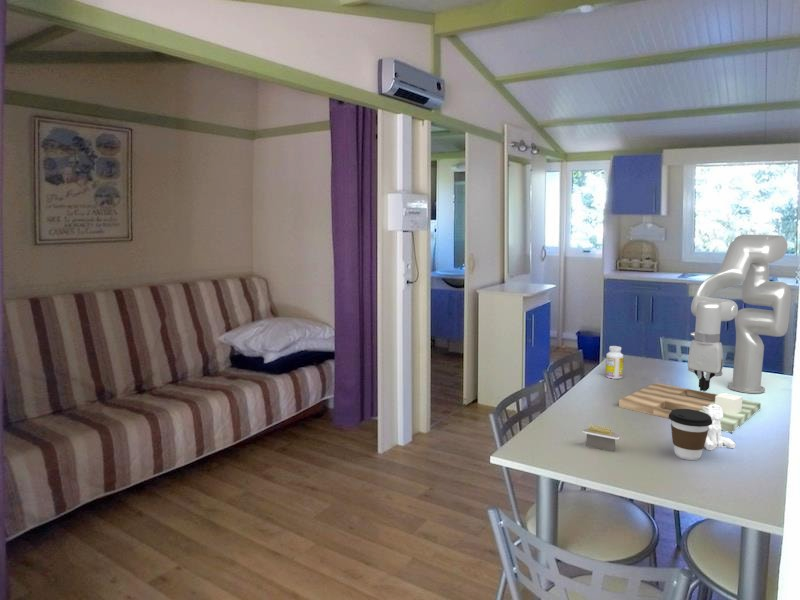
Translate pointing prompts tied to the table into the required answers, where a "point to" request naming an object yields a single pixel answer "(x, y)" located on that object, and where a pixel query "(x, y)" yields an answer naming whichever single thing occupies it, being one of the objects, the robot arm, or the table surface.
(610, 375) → the supplement bottle
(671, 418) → the coffee cup
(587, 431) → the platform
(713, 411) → the white creature statuette
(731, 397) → the block
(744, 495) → the table surface
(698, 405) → the board
